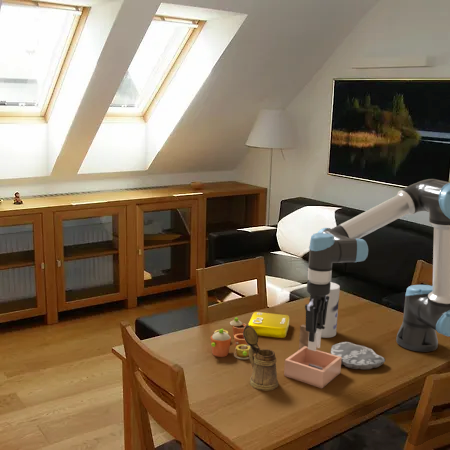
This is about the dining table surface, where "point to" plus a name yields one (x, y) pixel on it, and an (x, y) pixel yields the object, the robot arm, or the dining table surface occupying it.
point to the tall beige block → (303, 337)
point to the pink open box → (312, 367)
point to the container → (331, 312)
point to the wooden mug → (261, 363)
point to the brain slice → (357, 356)
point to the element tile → (270, 324)
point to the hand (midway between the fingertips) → (313, 348)
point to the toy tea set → (223, 340)
